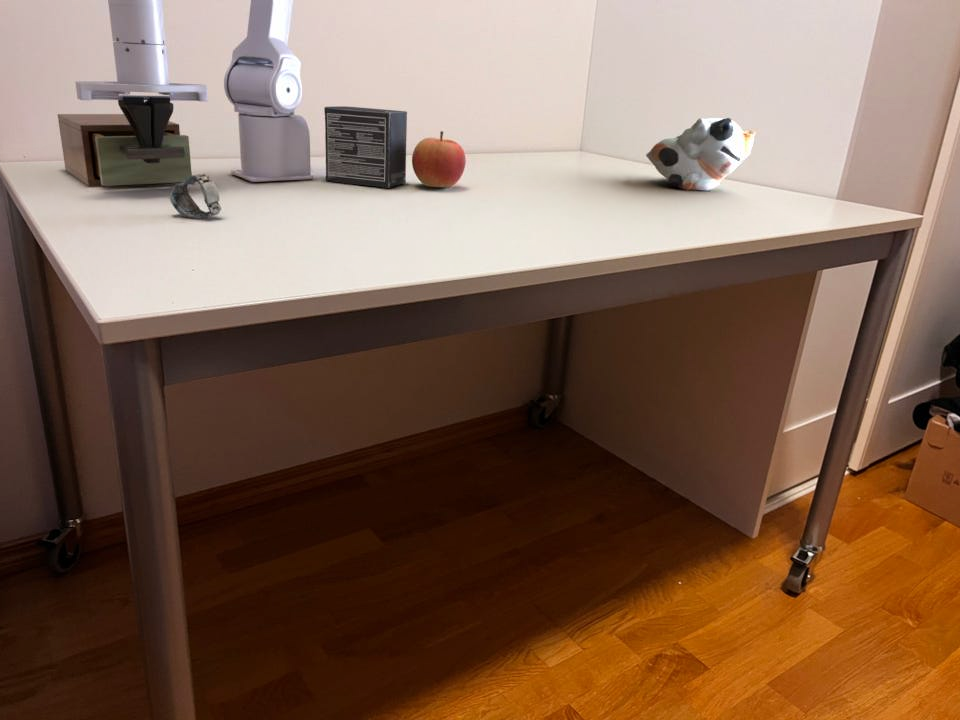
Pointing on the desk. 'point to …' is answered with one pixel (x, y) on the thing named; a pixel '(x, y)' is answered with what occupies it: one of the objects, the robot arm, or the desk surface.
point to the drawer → (138, 158)
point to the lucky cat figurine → (702, 153)
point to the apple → (438, 162)
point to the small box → (365, 146)
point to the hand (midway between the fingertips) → (151, 162)
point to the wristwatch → (187, 204)
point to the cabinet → (78, 140)
